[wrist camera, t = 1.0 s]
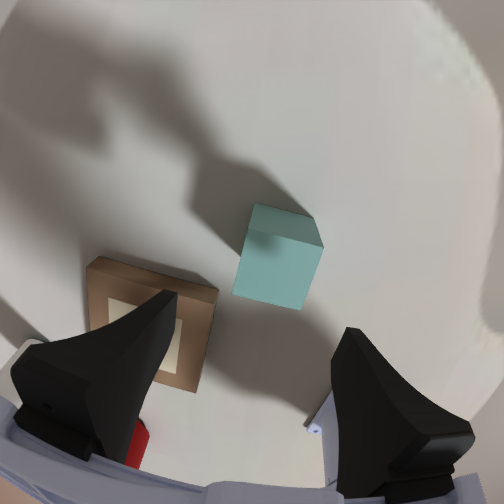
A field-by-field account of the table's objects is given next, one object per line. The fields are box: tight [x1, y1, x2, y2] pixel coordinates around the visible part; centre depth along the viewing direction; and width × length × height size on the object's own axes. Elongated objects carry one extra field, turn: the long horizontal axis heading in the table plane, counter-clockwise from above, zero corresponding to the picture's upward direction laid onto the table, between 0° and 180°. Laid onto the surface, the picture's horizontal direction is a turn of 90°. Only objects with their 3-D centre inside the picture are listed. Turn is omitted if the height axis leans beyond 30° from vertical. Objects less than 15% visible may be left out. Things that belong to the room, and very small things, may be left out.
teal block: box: [232, 203, 324, 311], centre depth 19 cm, size 4×4×5 cm
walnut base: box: [86, 256, 219, 393], centre depth 24 cm, size 10×10×2 cm
